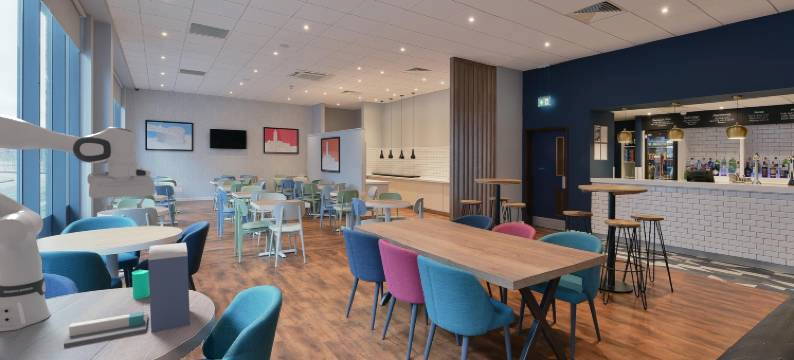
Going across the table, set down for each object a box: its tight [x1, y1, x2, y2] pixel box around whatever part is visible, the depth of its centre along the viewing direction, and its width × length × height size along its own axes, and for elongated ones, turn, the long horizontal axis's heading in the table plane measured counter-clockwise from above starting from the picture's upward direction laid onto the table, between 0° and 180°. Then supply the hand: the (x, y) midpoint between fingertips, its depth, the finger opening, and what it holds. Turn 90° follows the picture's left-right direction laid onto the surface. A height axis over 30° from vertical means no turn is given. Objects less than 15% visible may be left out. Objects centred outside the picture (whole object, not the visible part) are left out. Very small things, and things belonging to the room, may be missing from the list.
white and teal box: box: [68, 311, 145, 336], centre depth 135 cm, size 20×4×3 cm, turn 119°
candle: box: [131, 269, 150, 300], centre depth 168 cm, size 6×6×12 cm
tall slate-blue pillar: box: [147, 242, 191, 333], centre depth 143 cm, size 12×16×26 cm
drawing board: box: [63, 314, 149, 348], centre depth 135 cm, size 22×14×1 cm, turn 119°
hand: (124, 209), depth 148 cm, fingers open, 8 cm apart
